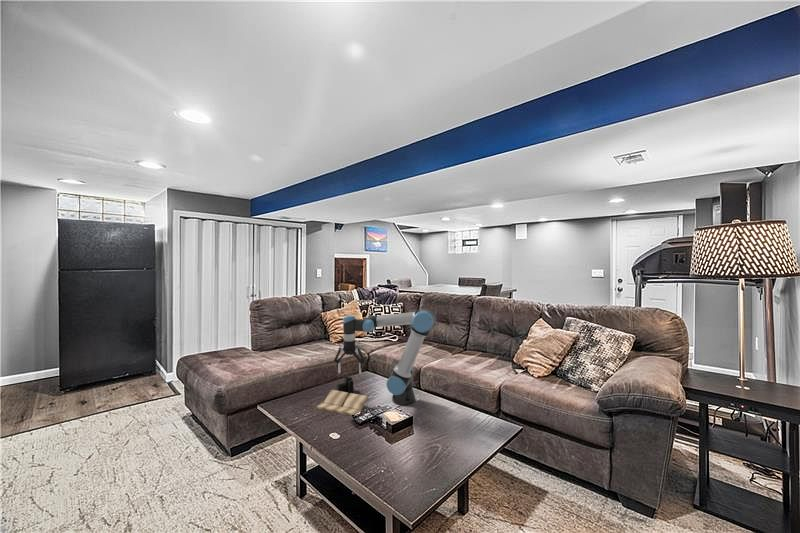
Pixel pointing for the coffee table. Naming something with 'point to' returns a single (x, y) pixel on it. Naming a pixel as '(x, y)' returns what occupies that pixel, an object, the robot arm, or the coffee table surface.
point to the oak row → (338, 409)
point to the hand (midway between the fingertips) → (349, 373)
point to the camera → (346, 385)
